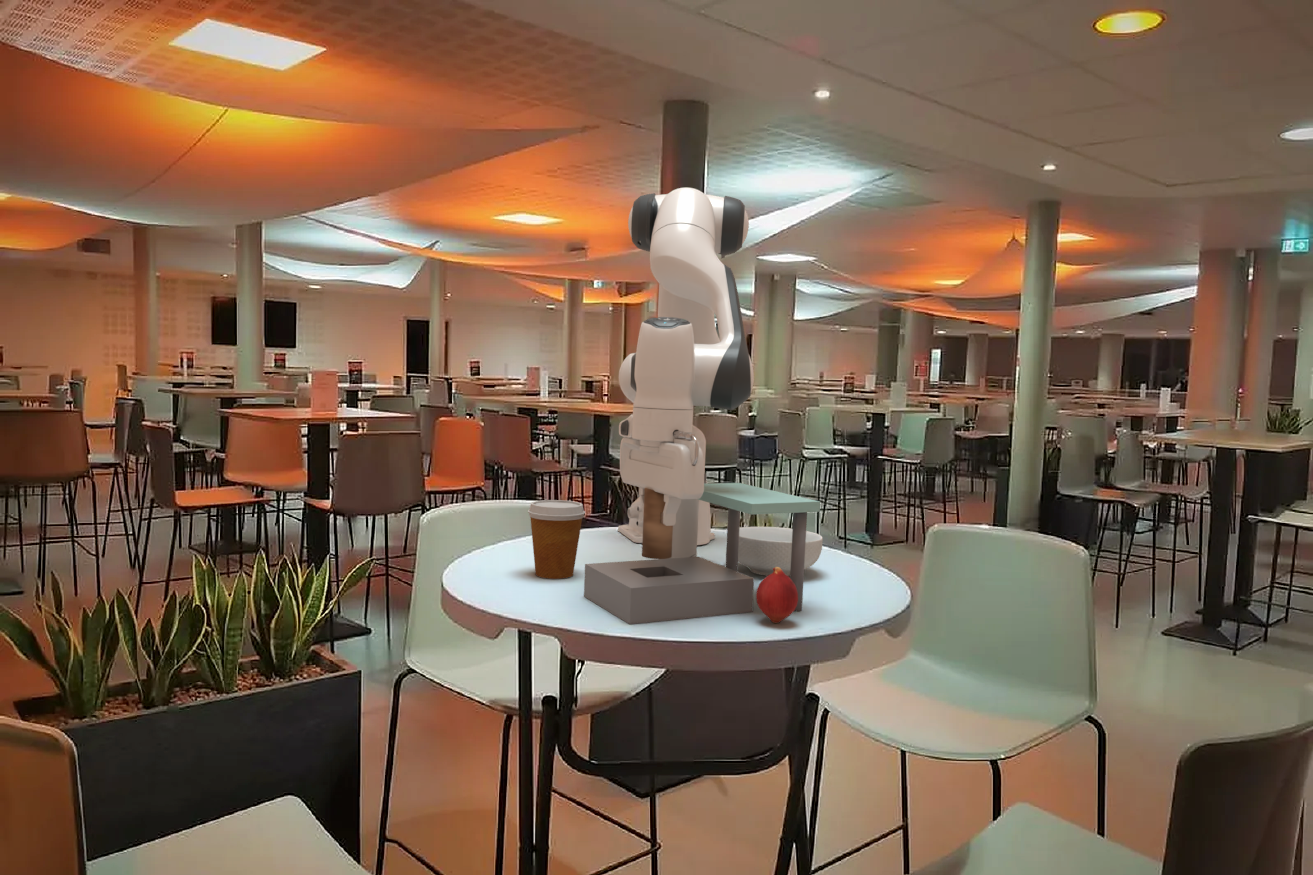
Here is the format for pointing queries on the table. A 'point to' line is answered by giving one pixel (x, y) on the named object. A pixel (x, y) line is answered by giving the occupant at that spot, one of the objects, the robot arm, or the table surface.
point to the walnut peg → (655, 528)
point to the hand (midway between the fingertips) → (658, 521)
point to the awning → (763, 503)
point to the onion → (777, 596)
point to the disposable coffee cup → (555, 536)
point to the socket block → (667, 589)
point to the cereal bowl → (774, 549)
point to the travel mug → (685, 529)
